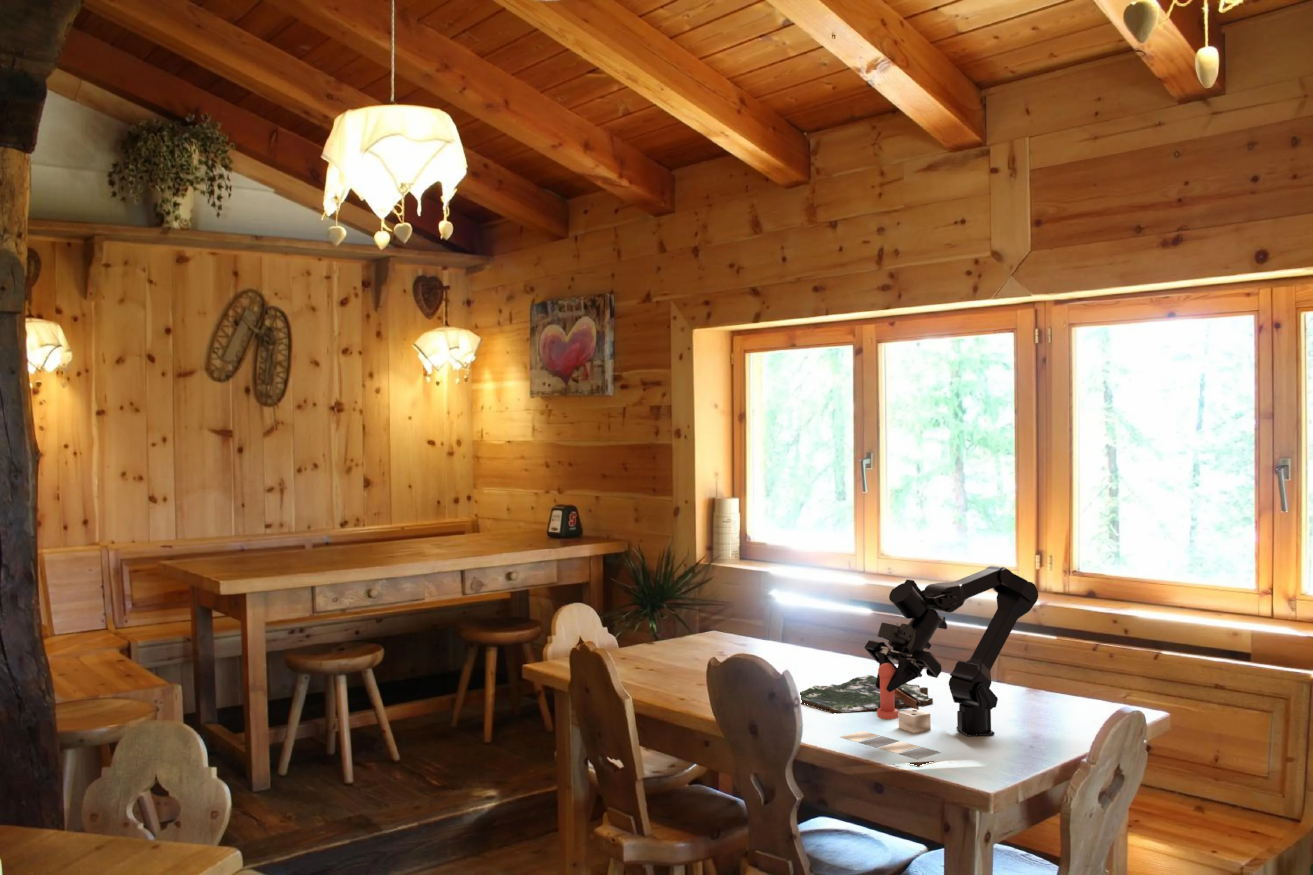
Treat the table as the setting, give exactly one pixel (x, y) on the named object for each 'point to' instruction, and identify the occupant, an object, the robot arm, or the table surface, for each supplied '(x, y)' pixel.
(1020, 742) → the table surface
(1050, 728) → the table surface
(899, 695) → the pottery mug
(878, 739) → the game board
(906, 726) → the die
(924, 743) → the table surface
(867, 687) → the topographical map
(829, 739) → the table surface
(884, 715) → the pawn
